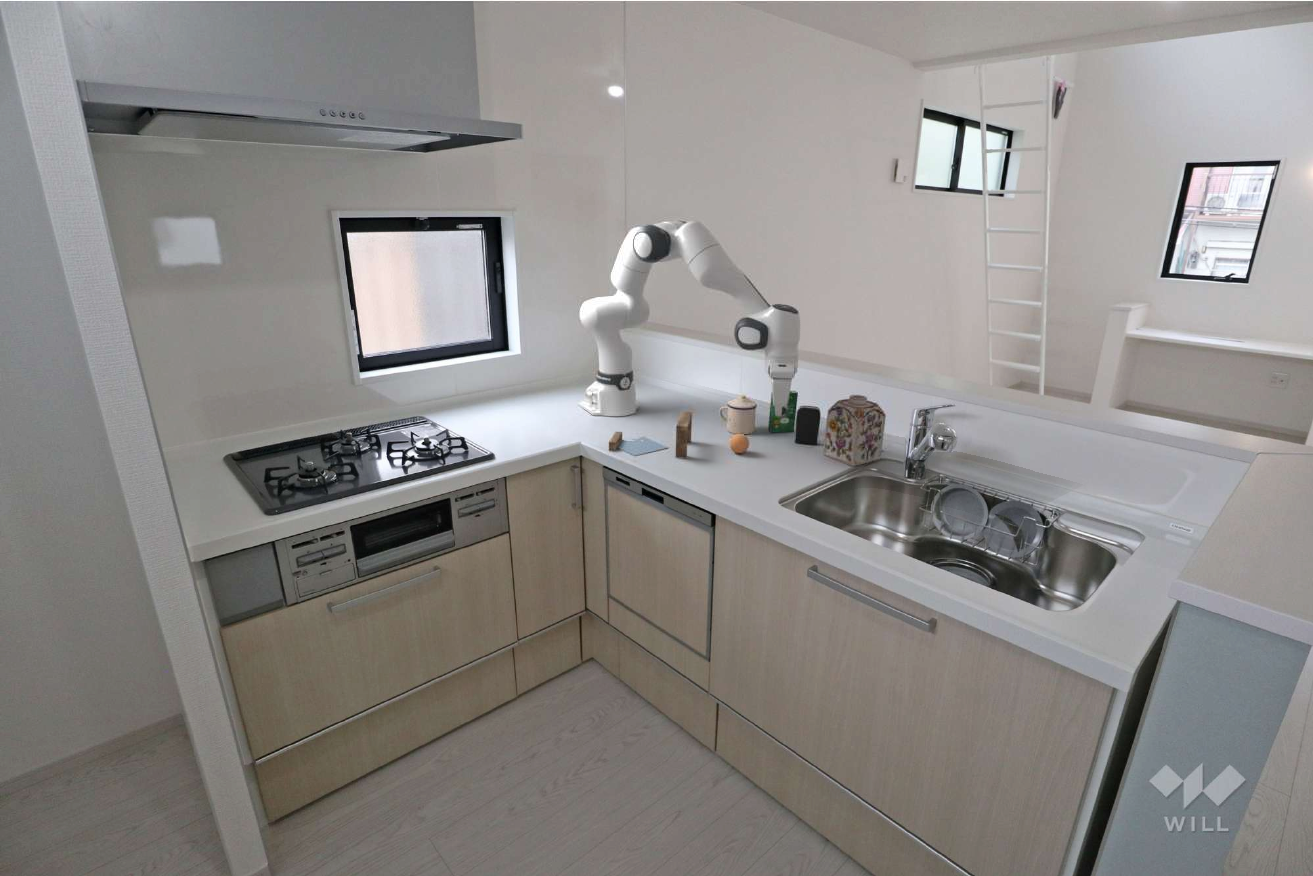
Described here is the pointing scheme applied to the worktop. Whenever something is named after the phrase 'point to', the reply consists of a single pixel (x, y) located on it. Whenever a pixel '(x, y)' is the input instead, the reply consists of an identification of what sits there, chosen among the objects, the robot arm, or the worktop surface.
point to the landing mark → (640, 446)
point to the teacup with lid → (740, 415)
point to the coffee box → (783, 415)
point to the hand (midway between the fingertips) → (778, 414)
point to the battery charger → (807, 425)
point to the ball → (739, 443)
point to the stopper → (615, 441)
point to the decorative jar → (854, 431)
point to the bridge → (683, 433)
